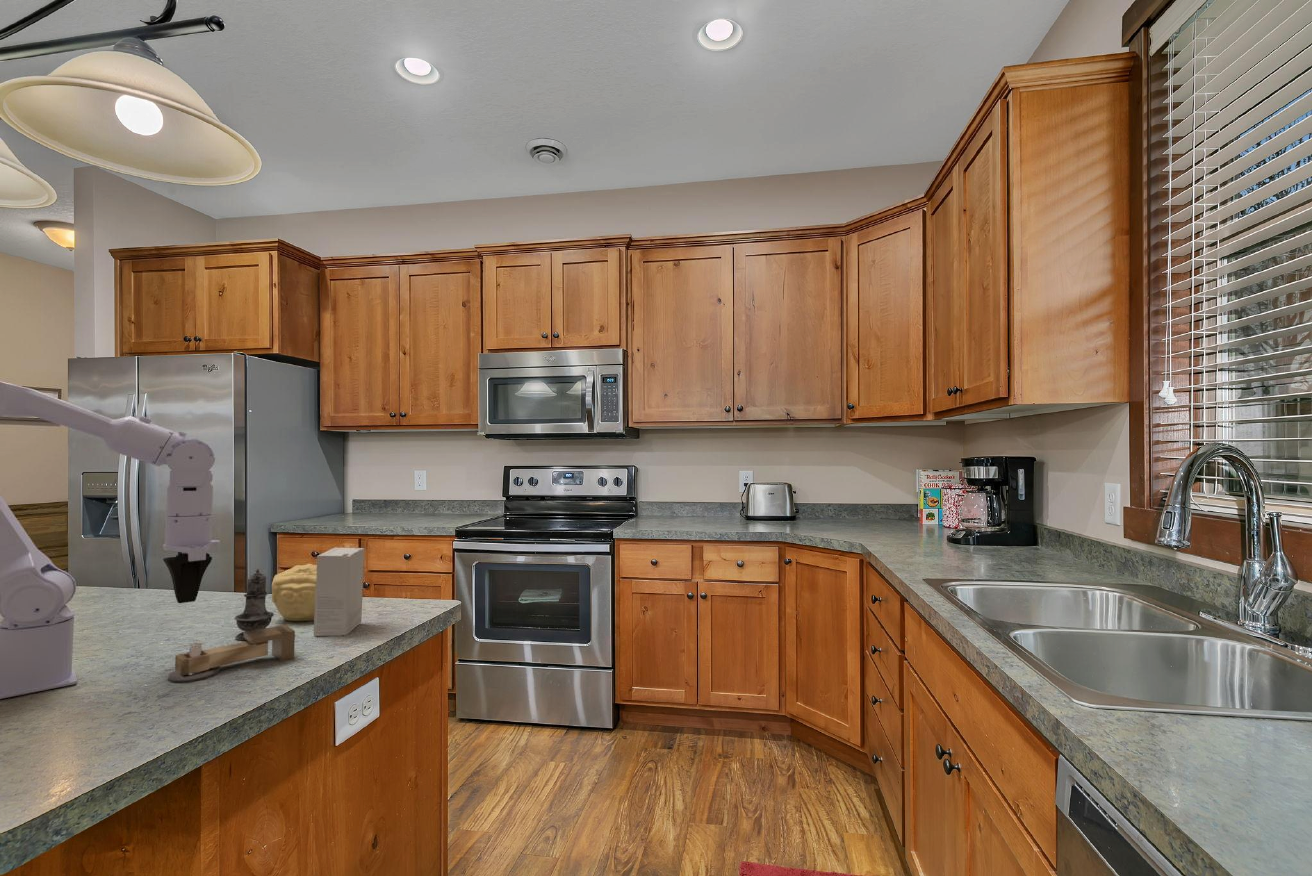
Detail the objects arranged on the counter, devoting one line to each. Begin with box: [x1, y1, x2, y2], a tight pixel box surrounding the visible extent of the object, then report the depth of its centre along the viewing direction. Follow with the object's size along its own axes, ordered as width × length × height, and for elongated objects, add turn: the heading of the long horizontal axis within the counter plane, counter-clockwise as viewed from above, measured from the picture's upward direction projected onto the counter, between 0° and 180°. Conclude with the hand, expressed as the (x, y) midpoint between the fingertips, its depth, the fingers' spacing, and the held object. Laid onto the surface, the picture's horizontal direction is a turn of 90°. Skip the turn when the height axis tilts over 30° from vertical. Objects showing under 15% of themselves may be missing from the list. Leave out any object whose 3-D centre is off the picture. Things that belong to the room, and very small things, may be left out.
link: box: [174, 640, 269, 675], centre depth 89 cm, size 11×4×2 cm, turn 142°
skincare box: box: [313, 547, 365, 637], centre depth 110 cm, size 8×6×15 cm
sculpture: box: [271, 563, 317, 622], centre depth 118 cm, size 11×12×11 cm
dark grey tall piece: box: [234, 568, 275, 641], centre depth 106 cm, size 6×6×12 cm
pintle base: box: [167, 642, 221, 684], centre depth 87 cm, size 6×6×4 cm
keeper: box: [243, 624, 296, 662], centre depth 94 cm, size 6×5×4 cm
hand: (186, 601), depth 92 cm, fingers closed
